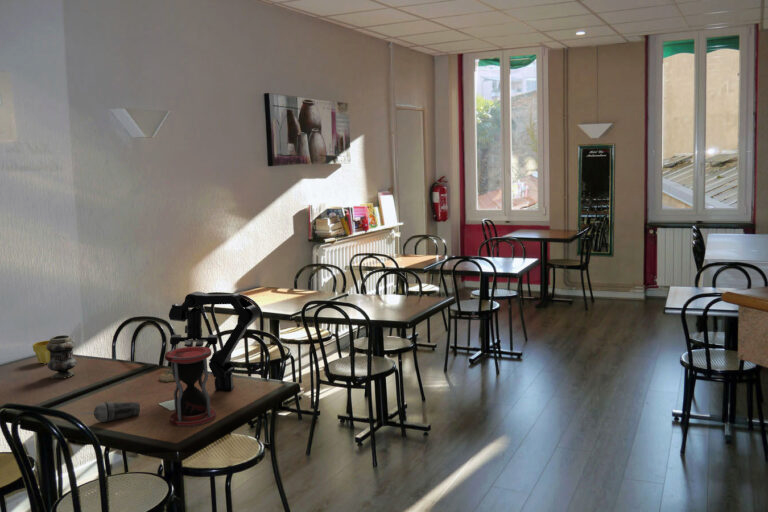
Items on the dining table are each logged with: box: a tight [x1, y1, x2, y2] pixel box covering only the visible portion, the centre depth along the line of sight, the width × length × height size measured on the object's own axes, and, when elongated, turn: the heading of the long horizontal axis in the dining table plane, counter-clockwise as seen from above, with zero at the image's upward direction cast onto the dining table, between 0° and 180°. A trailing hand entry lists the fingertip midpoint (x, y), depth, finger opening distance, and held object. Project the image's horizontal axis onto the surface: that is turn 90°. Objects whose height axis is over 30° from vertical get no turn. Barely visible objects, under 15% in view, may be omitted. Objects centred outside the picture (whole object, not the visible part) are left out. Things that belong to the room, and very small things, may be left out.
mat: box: [158, 399, 175, 411], centre depth 277 cm, size 11×11×1 cm
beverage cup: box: [80, 401, 141, 423], centre depth 261 cm, size 7×7×20 cm
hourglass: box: [164, 346, 217, 427], centre depth 258 cm, size 16×16×25 cm
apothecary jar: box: [46, 334, 78, 379], centre depth 321 cm, size 12×12×18 cm
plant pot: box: [32, 339, 50, 364], centre depth 346 cm, size 10×10×10 cm
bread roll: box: [159, 368, 181, 383], centre depth 311 cm, size 11×11×5 cm
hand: (194, 359), depth 295 cm, fingers closed
